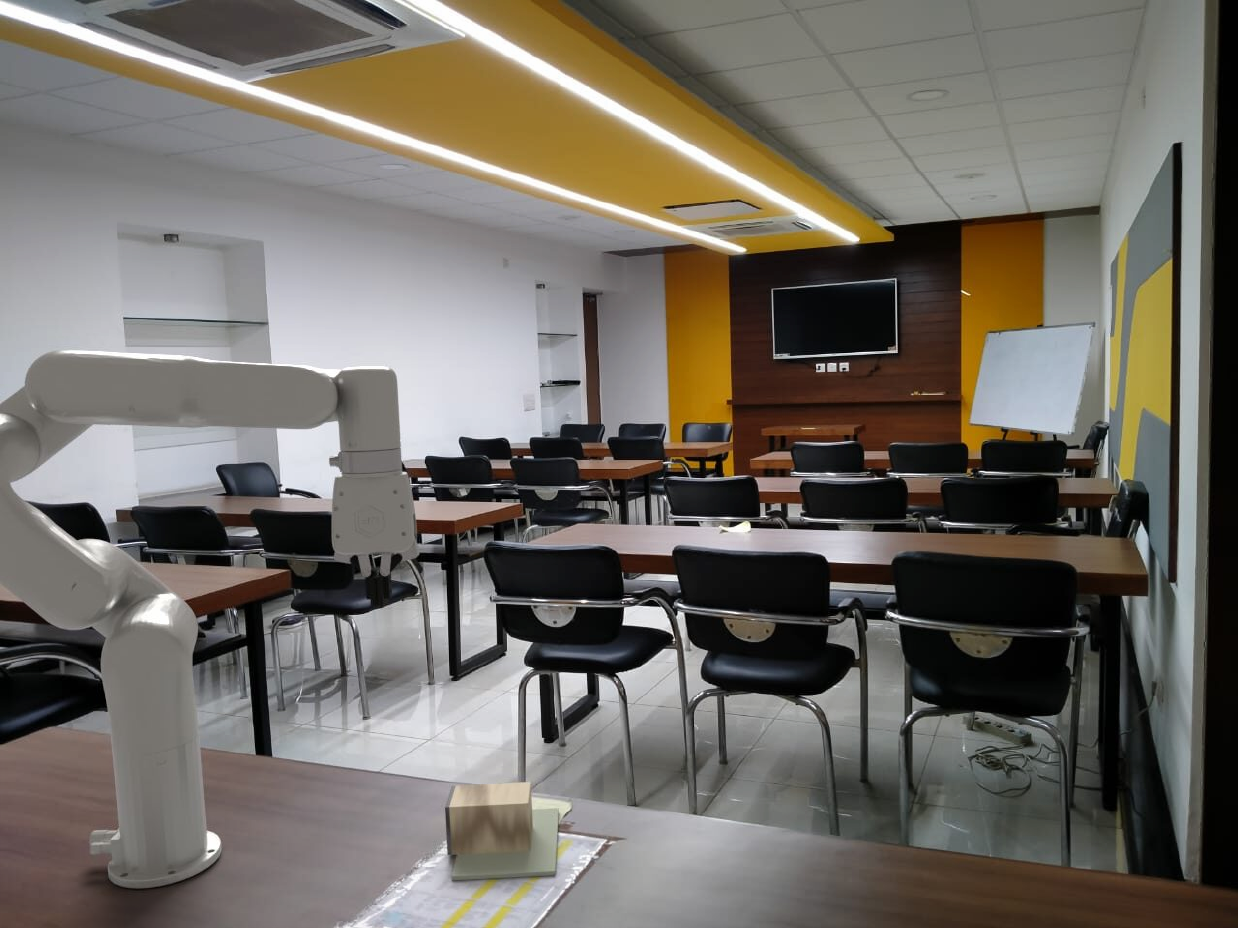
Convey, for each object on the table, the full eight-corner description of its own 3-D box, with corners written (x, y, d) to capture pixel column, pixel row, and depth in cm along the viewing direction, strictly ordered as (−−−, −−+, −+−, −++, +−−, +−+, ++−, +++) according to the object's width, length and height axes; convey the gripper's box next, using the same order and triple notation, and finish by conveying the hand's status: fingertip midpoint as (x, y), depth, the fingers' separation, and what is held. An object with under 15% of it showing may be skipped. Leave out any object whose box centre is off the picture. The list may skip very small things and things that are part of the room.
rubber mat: (451, 880, 110) (451, 876, 109) (468, 816, 125) (468, 812, 125) (555, 874, 110) (555, 870, 110) (558, 811, 126) (558, 808, 126)
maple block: (444, 807, 114) (528, 803, 114) (451, 785, 120) (530, 781, 120) (447, 854, 114) (530, 850, 115) (454, 831, 120) (532, 827, 121)
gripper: (303, 468, 117) (313, 614, 118) (425, 464, 117) (433, 609, 119) (320, 463, 124) (329, 600, 126) (435, 458, 125) (442, 595, 126)
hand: (379, 604), depth 122 cm, fingers closed
